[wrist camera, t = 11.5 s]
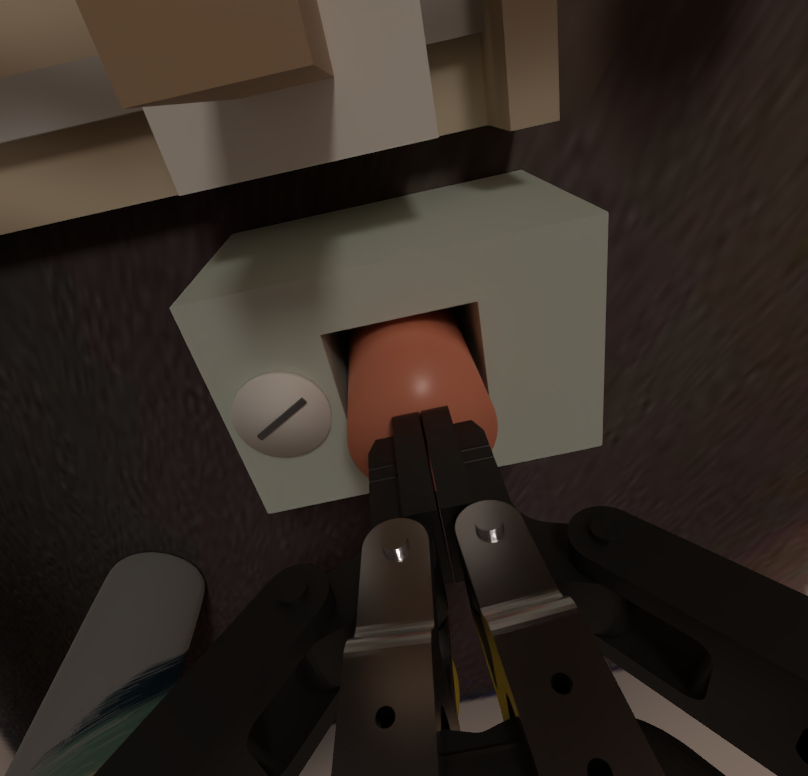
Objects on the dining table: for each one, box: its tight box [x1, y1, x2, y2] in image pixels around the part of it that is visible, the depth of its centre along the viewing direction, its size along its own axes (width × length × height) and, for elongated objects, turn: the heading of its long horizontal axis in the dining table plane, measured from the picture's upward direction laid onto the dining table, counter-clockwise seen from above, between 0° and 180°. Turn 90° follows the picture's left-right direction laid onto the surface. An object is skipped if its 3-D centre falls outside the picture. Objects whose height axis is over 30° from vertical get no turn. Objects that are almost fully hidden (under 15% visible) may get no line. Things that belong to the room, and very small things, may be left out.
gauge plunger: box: [347, 308, 498, 491], centre depth 16 cm, size 4×4×6 cm
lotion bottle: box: [5, 552, 205, 776], centre depth 22 cm, size 6×6×20 cm
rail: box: [0, 0, 560, 235], centre depth 15 cm, size 7×25×4 cm, turn 101°
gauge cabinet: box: [170, 170, 608, 514], centre depth 18 cm, size 8×12×8 cm, turn 101°
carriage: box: [75, 0, 439, 196], centre depth 10 cm, size 6×7×11 cm
